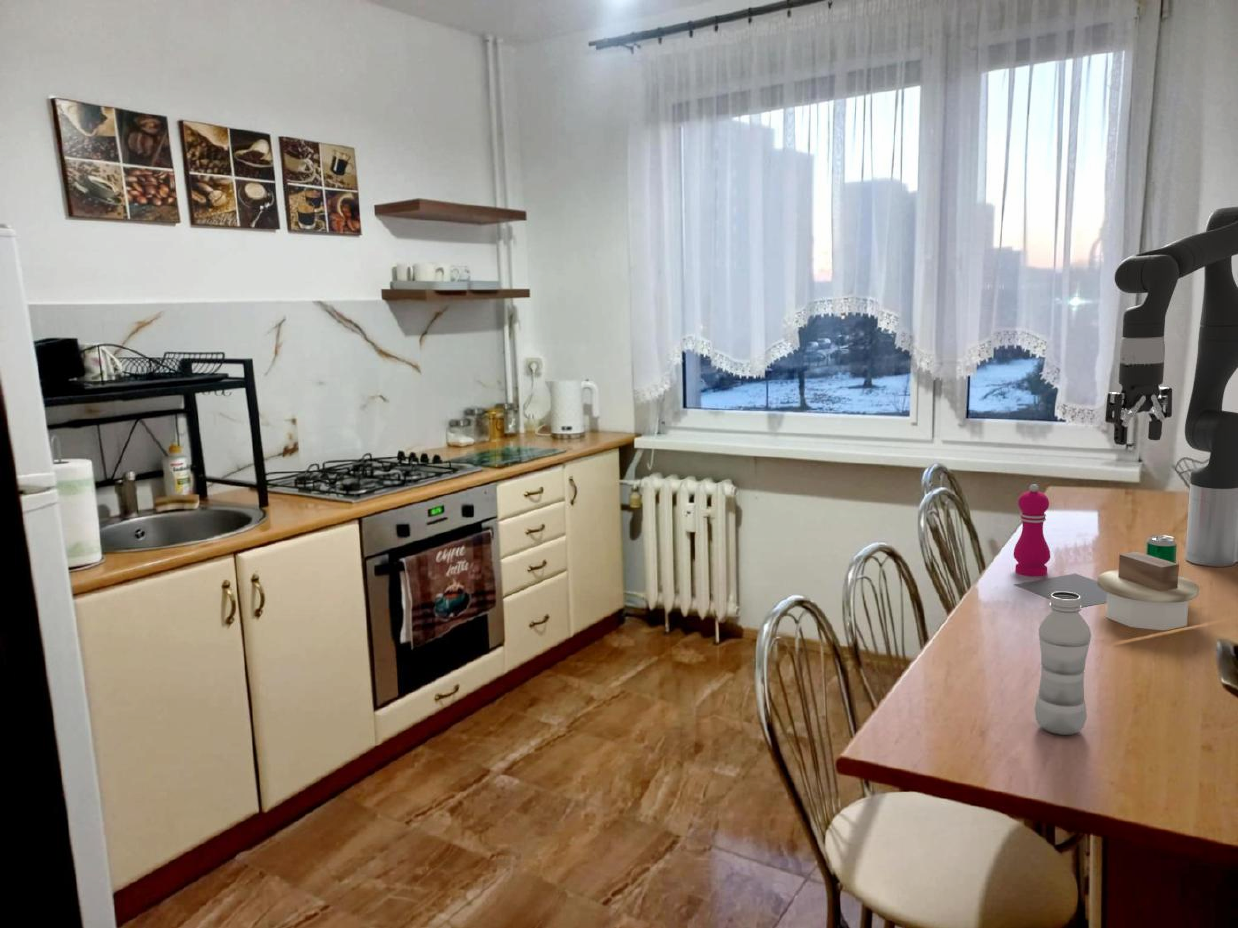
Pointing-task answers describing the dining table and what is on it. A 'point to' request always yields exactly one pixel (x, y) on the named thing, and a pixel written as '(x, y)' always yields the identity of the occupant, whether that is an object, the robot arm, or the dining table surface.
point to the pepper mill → (1032, 534)
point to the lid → (1148, 580)
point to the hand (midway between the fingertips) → (1137, 442)
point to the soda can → (1162, 547)
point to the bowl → (1146, 613)
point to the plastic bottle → (1063, 666)
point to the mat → (1068, 588)
